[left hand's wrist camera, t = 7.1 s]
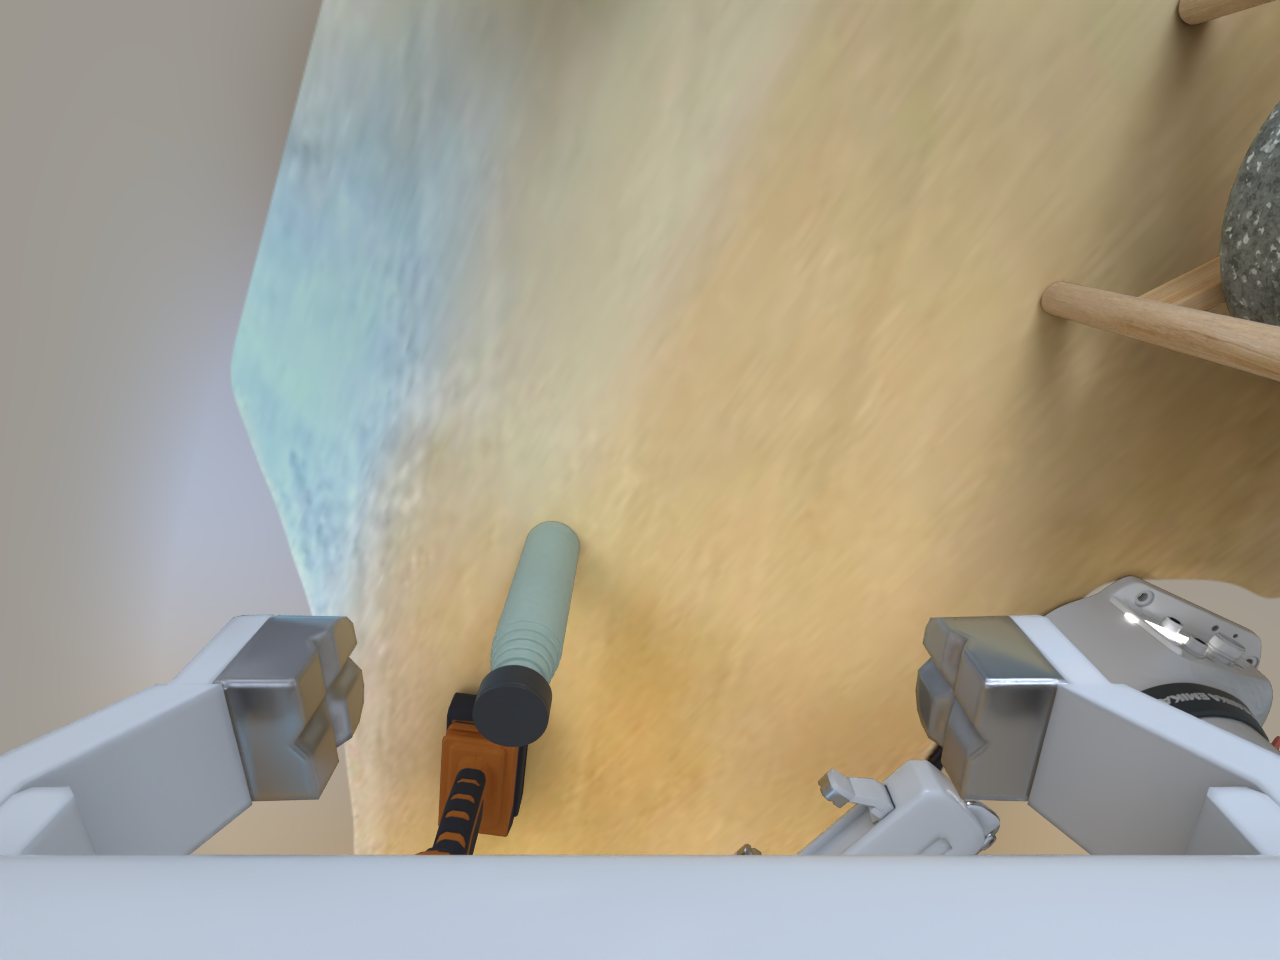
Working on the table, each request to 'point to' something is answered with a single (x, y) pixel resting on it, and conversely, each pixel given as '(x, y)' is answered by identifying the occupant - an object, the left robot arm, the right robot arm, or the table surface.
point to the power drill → (475, 783)
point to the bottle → (538, 601)
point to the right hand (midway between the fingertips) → (781, 819)
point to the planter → (1210, 266)
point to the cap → (512, 706)
